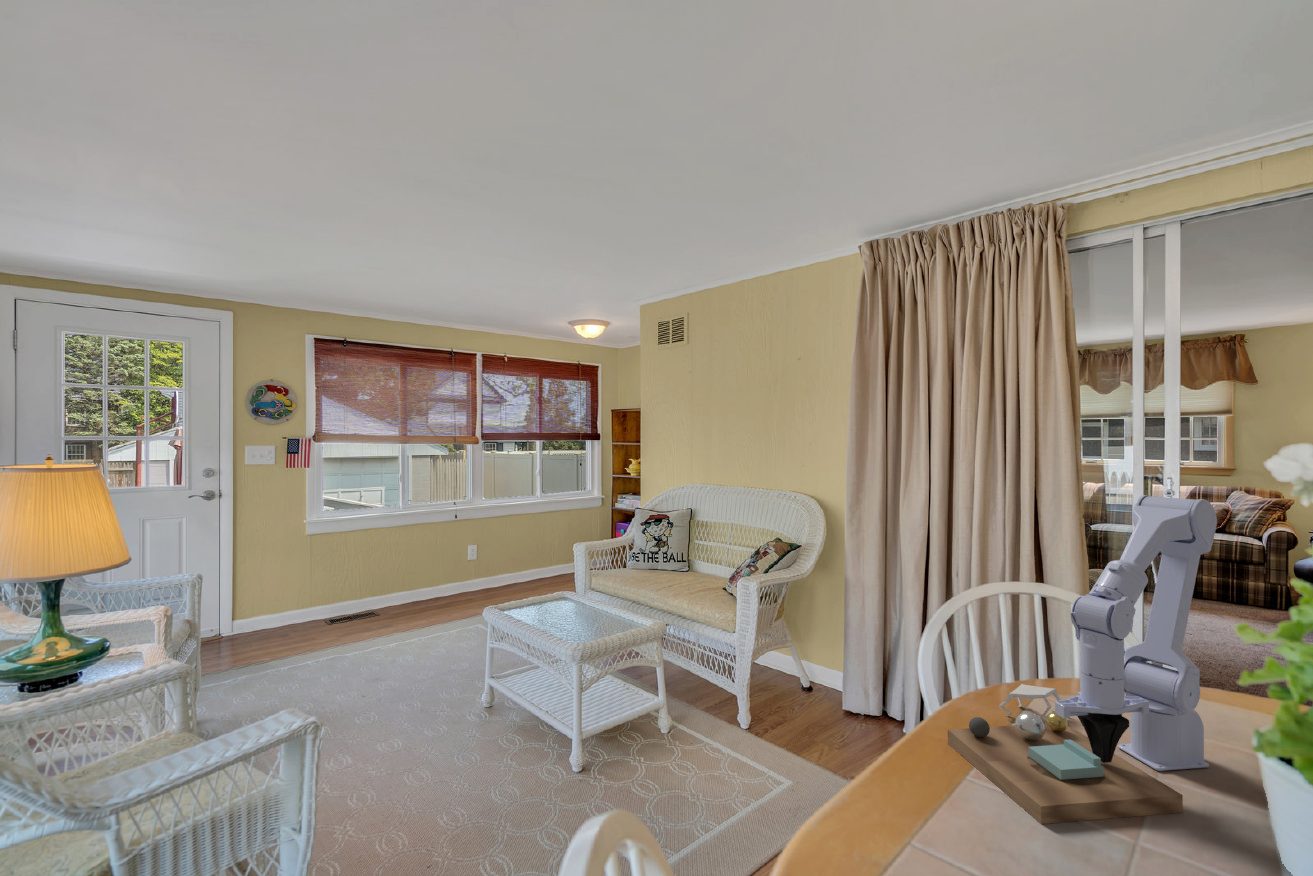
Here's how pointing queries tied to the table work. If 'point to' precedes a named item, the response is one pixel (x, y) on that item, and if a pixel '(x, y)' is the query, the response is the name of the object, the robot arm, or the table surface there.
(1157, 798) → the wooden board
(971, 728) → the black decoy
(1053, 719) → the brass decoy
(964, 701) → the table surface
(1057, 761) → the cover
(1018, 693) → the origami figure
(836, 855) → the table surface
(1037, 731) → the steel ball
